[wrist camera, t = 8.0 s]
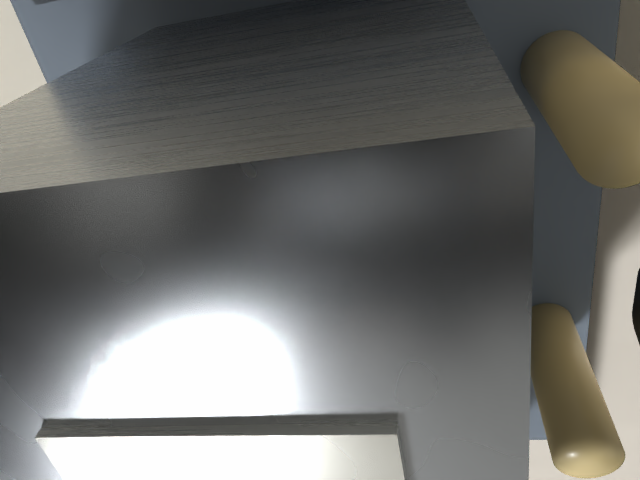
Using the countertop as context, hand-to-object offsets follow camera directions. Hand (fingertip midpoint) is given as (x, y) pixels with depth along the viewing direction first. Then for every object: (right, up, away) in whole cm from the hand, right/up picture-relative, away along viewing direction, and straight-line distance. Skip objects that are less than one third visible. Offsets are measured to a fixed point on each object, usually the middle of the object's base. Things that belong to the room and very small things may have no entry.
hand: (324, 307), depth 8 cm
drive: (0, +1, +2) cm, 2 cm away
